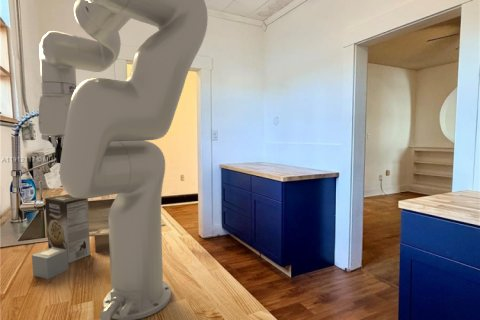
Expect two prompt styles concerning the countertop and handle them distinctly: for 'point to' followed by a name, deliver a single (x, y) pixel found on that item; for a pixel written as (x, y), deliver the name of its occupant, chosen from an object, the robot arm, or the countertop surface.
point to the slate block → (50, 262)
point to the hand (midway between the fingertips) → (63, 162)
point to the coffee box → (68, 225)
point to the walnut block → (102, 240)
